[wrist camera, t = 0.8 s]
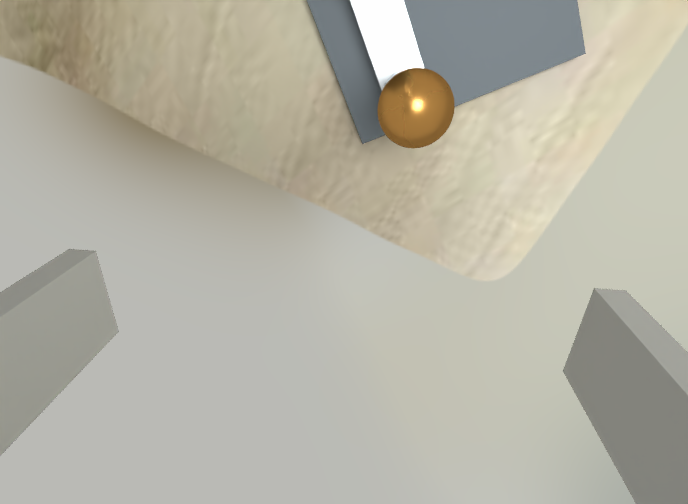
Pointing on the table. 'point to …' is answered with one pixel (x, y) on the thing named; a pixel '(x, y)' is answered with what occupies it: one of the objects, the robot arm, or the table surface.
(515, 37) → the plate
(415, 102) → the bar
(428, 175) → the table surface
